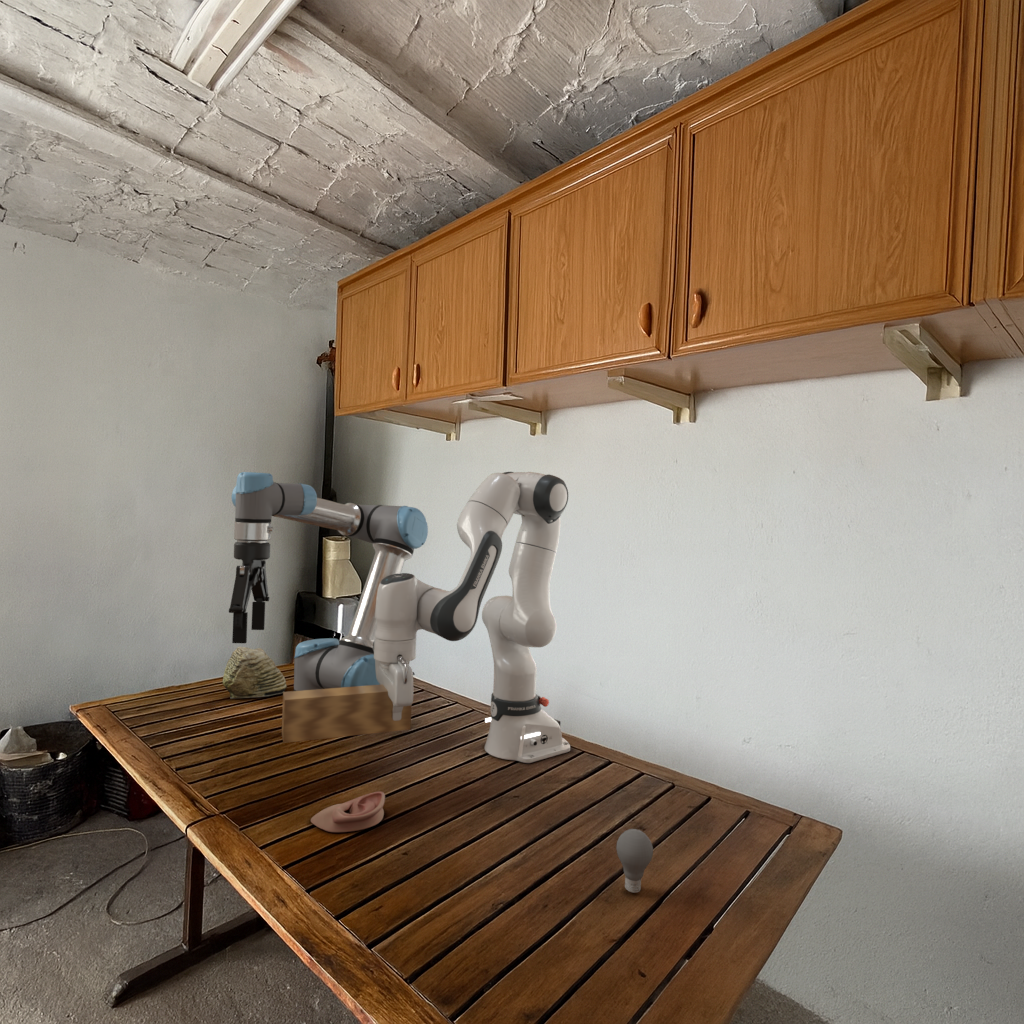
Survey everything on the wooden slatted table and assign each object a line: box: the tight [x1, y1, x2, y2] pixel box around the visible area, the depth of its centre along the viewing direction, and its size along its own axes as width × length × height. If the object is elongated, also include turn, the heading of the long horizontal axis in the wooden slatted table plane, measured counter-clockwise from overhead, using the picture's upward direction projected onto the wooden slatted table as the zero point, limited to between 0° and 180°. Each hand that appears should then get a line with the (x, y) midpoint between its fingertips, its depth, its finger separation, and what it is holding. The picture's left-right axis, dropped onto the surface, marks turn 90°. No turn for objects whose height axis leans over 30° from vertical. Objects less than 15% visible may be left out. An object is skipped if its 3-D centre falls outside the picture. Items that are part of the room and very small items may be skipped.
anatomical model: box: [310, 790, 386, 833], centre depth 125 cm, size 13×4×12 cm
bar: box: [281, 684, 413, 744], centre depth 132 cm, size 26×5×9 cm, turn 113°
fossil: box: [222, 646, 288, 699], centre depth 198 cm, size 9×18×15 cm, turn 132°
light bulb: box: [615, 828, 654, 894], centre depth 106 cm, size 6×6×10 cm
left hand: (249, 636), depth 142 cm, fingers open, 13 cm apart
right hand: (392, 714), depth 136 cm, fingers closed on bar, 5 cm apart
